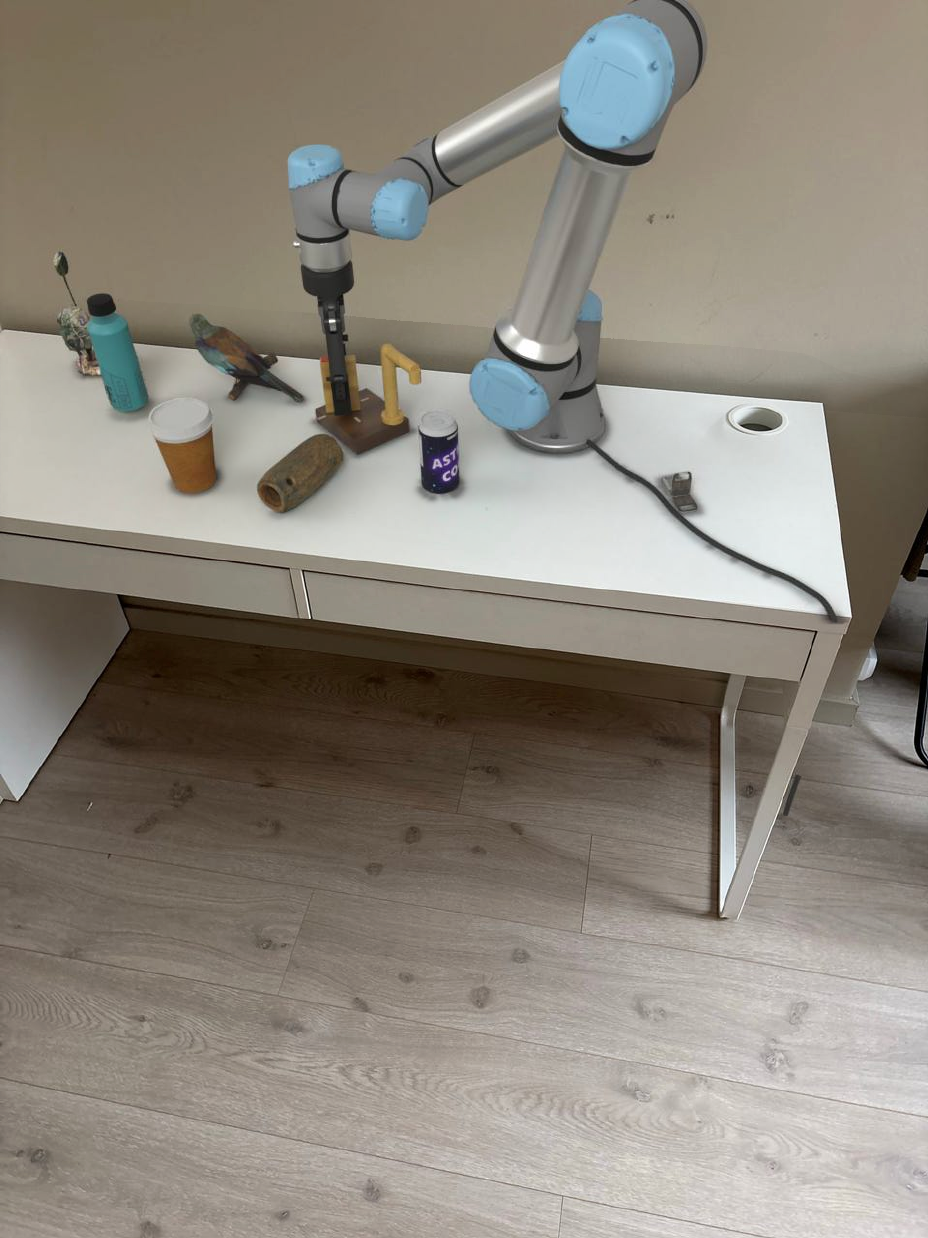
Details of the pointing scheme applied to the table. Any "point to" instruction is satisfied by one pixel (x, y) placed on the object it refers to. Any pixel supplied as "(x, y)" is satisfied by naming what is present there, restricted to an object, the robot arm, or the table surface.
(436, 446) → the beverage can
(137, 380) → the beverage bottle
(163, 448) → the disposable coffee cup
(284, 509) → the brown cylindrical piece
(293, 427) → the table surface
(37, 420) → the table surface
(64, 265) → the plant with pod
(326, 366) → the tap handle
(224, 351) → the bird figurine
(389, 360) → the tap spout
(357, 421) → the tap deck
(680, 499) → the strap clip
